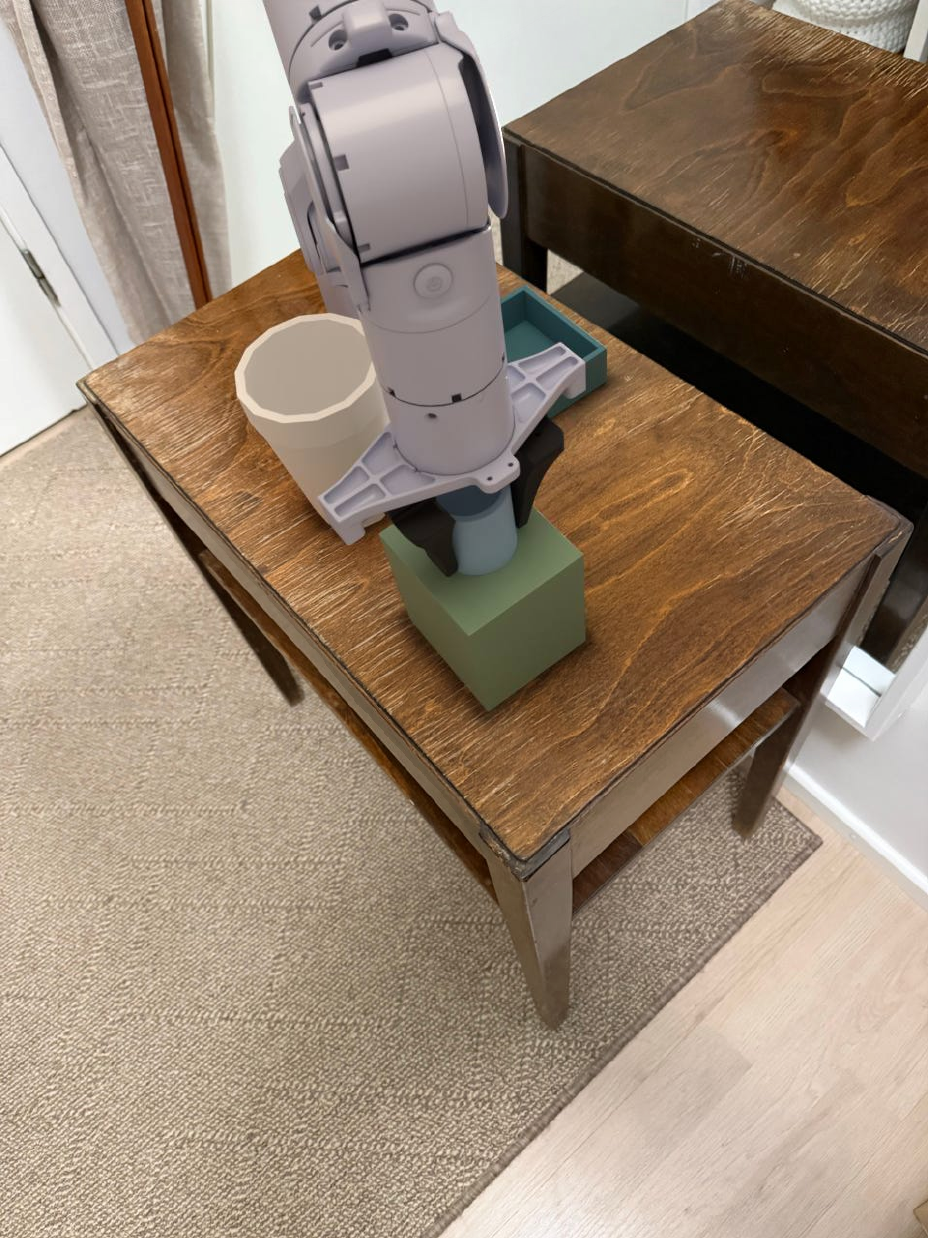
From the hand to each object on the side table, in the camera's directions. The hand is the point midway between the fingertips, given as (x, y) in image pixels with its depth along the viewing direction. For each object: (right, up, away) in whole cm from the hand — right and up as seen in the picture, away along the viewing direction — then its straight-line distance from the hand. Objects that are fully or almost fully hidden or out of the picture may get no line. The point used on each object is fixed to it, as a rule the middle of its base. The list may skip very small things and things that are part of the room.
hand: (477, 539), depth 50 cm
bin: (+4, +15, +20) cm, 26 cm away
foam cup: (-9, +5, +16) cm, 19 cm away
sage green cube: (+1, -5, +9) cm, 10 cm away
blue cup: (0, 0, 0) cm, 0 cm away
